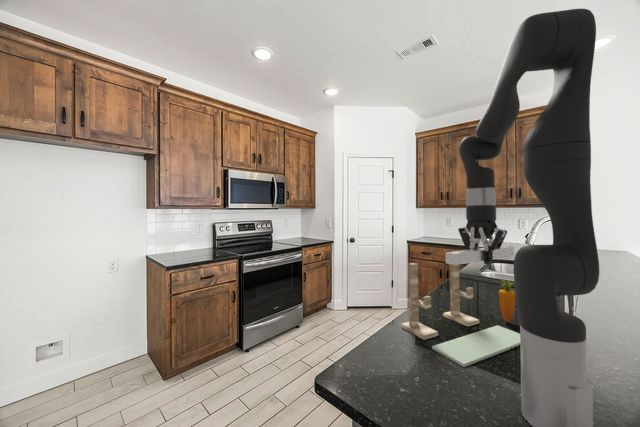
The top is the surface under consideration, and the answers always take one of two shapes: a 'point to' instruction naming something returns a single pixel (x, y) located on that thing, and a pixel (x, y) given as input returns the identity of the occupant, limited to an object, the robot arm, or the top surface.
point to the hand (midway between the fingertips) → (481, 262)
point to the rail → (477, 255)
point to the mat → (478, 345)
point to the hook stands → (414, 303)
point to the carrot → (507, 301)
